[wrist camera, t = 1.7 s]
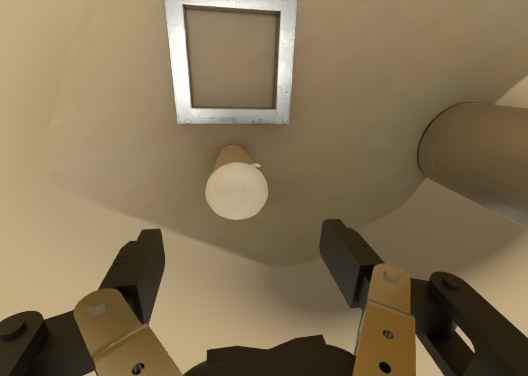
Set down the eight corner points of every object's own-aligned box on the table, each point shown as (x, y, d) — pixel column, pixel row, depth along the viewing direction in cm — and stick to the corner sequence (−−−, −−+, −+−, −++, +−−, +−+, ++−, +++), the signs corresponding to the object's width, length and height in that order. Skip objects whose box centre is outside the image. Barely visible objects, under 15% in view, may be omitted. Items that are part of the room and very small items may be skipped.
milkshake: (266, 141, 26) (290, 178, 17) (243, 186, 27) (254, 241, 18) (224, 121, 24) (226, 149, 15) (203, 170, 26) (193, 221, 17)
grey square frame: (292, -2, 21) (297, -7, 20) (285, 121, 25) (288, 123, 24) (166, -12, 20) (162, -18, 18) (180, 120, 24) (177, 123, 22)
